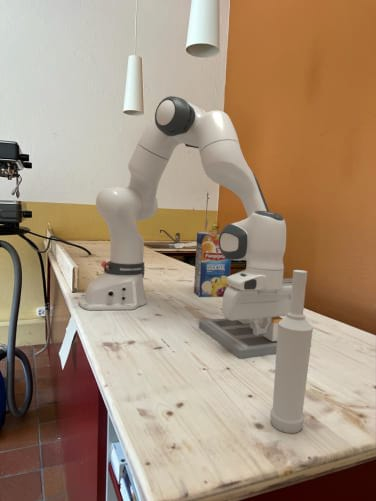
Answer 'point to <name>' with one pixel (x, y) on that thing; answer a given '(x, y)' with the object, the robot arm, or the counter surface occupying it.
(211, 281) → the juice carton
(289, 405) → the bottle
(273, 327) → the block
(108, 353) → the counter surface
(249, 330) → the panel
